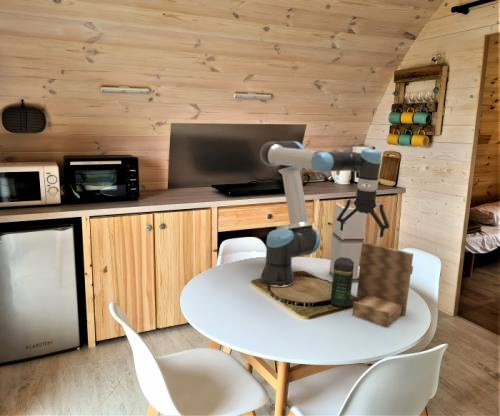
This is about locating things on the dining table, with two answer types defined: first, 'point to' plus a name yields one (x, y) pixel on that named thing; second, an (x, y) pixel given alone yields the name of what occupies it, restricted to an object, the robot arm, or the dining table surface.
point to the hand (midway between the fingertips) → (360, 241)
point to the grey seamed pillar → (348, 239)
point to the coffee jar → (342, 281)
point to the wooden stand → (382, 284)
